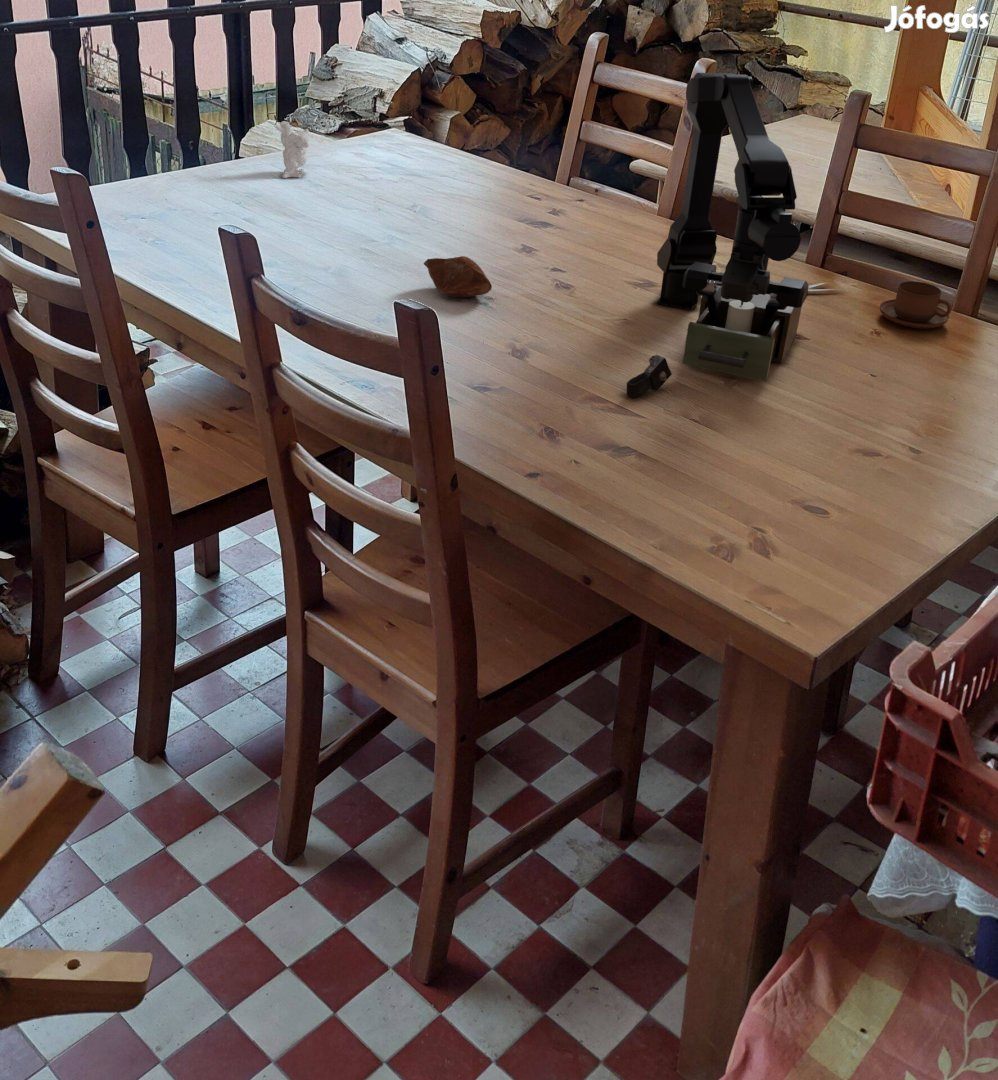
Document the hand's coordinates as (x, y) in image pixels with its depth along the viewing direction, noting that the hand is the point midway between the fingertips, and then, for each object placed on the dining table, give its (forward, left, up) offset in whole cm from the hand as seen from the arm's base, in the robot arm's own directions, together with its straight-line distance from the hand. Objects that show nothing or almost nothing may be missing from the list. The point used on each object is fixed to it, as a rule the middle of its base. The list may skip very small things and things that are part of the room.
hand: (737, 336), depth 189 cm
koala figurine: (-115, +57, -5) cm, 128 cm away
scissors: (+3, +38, -5) cm, 38 cm away
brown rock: (-51, +6, -5) cm, 52 cm away
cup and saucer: (+25, +35, -5) cm, 43 cm away
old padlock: (-9, -17, -5) cm, 20 cm away
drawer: (0, -3, -4) cm, 5 cm away
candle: (0, 0, -3) cm, 3 cm away
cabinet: (0, +11, -5) cm, 12 cm away
